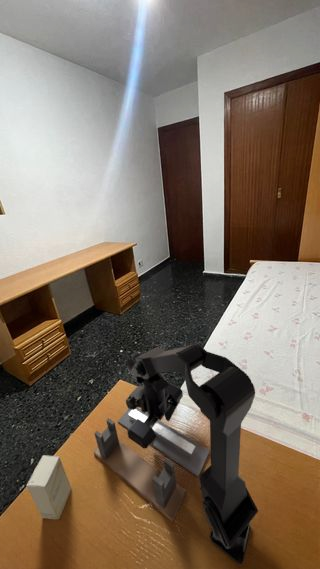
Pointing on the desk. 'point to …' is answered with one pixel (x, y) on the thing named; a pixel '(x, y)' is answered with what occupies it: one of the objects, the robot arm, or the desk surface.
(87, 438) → the desk surface
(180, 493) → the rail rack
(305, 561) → the desk surface
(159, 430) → the steel rail
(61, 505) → the skincare box
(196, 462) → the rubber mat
